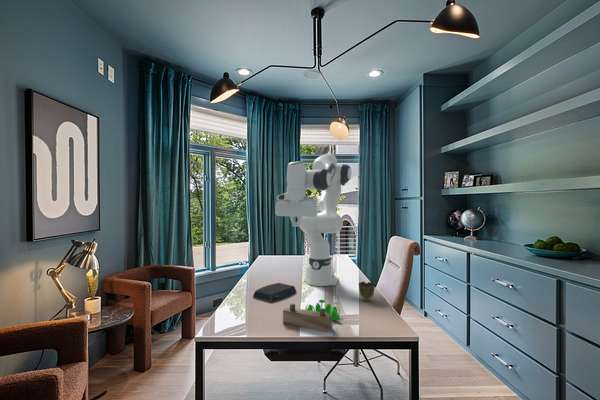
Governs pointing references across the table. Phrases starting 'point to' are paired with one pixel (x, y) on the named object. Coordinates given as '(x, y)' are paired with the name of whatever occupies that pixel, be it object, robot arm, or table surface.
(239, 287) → the table surface
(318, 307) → the chandelier
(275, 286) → the external hard drive
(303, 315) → the walnut block
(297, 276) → the table surface
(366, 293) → the cup
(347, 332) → the table surface
